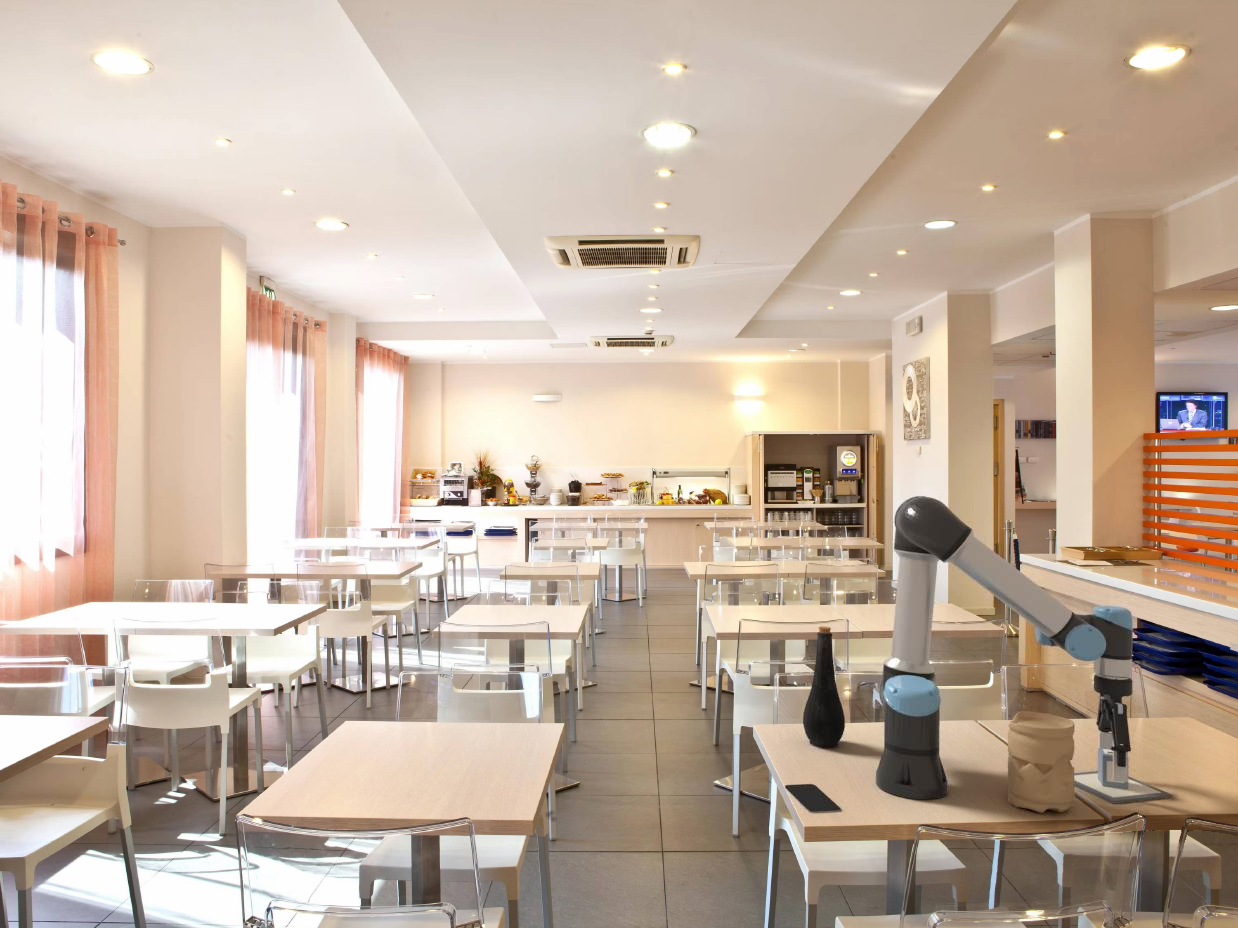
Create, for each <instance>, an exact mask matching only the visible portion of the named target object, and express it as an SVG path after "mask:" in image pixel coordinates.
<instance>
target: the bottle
mask: <svg viewBox="0 0 1238 928" xmlns="http://www.w3.org/2000/svg"><path fill="white" fill-rule="evenodd" d="M831 629H832V628H831V627H830V626H819V627H818V632H817V633H816V635H817V641H816V642H817V644H816V656H815V663H814V670H813V677H812V682H811V687H810V691H809V694H808V698H807V700H806V703H805V707H804V709H803V710H804V711H803V716H802V725H803V729H804V732H805V735H806V738H807V739H808V741H809V744H810V745H811V746H813V747H816V748H817V747H818V748H820V749H821V748H822V749H833V748H837V747H838V745H839V742H840V740H842V737H843V735H844V732H845V728H846V720H845V712H844V708H843V705H842V702H841V699H840V696H839V692H838V687H837V681H836V675H835V673H836V672H835V665H834V656H833V633H832V632H831Z"/></svg>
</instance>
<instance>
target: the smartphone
mask: <svg viewBox="0 0 1238 928" xmlns="http://www.w3.org/2000/svg"><path fill="white" fill-rule="evenodd" d="M784 789H785V790H786V791H787V792H788V793H789V794H790V795H791V796H792V797H793V798H794V799H795V800H796V801H797V802H798V803H799V804H800V805H801V806H802V807H803V809H805V810H806V811H807V812H808V813H810V814H818V813H819V814H822V813H823V814H824V813H839V812H841V811H842V808H841V807H840V806H839V805H838V804H837V803H836V802H835V801H833V800H832V799H831V798H830V797H829V796H828V795H827V794H826V793H825V792H823V790H821V789H820V788H819V787H818V786H817V785H816V784H812V783H805V784H804V783H803V784H801V783H800V784H799V783H798V784H786V785H784Z"/></svg>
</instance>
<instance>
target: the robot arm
mask: <svg viewBox="0 0 1238 928" xmlns="http://www.w3.org/2000/svg"><path fill="white" fill-rule="evenodd" d="M893 520H894V526H895V531H894V532H895V533H894V543H893V544H894V546H893V551H894V552H895V553H896V555H898V557H899V562H898V563H899V564H898V574H897V584H896V597H895V607H894V618H893V619H894V620H893V629H892V641H891V642H892V643H891V652H890V653H891V654H890V656H889V657H888V658H887V659H885V660H884V661H883V668H882V669H883V670H882V677H881V678H882V679H881V680H880V684H879V687H878V688H879V689H878V691H879V693H878V694H879V696H878V697H879V700H880V703H881V705H882V709H883V716H884V717H883V719H884V724H883V726H884V727H883V729H884V731H883V734H884V735H883V736H884V738H883V740H884V742H883V743H884V744H883V746H884V747H883V751H882V754H881V757H880V759H879V763H878V766H877V768H876V771H875V784H876V786H877V787H878V788H879V789H881V790H882V791H884V792H886V793H889V794H891V795H894V796H898V797H902V798H908V799H916V800H935V799H936V800H937V799H940V798H944V797H945V796H946V795H947V794H948V791H949V790H948V788H949V787H948V786H949V785H948V783H949V782H948V778H947V775H946V772H945V769H944V766H943V763H942V760H941V755H940V718H941V717H940V712H941V711H940V708H941V707H940V706H941V700H942V699H941V696H940V695H941V694H940V689H939V687H938V685H937V684H936V683H935V674H936V673H935V672H936V669H935V668H934V667H933V666H932V665H931V664H930V661H929V660H930V650H931V639H932V628H933V617H934V616H933V615H934V608H935V607H934V606H935V605H934V604H935V594H936V582H937V575H938V573H937V572H938V564H939V563H938V562H939V561H941V562H942V563H945V564H946V563H950V564H953V565H954V567H957V569H958V570H961V572H963V573H964V574H966V576H968V577H969V578H970V579H972V580H973V581H975V582H976V583H977V584H979V586H981V587H982V588H983V589H985V590H986V591H987V592H989V593H990V594H991V595H993V596H994V597H996V598H997V599H998V600H999V601H1001V602H1002V603H1003V604H1005V605H1006V606H1007V607H1008V608H1010V609H1011V610H1012V611H1014V612H1015V613H1016V614H1017V615H1019V616H1020V617H1021V618H1023V619H1024V620H1025V621H1026V622H1028V623H1029V624H1030V625H1031V626H1033V627H1034V632H1035V638H1036V641H1037V643H1039V645H1042V646H1045V647H1046V646H1048V647H1052V648H1053V647H1059V648H1061V650H1063V651H1064V652H1066V653H1068V655H1069V656H1071V657H1072V658H1074V659H1076V660H1079V661H1082V662H1093V673H1095V674H1094V675H1093V690H1094V691H1095V692H1096V693H1098V694H1099V702H1098V709H1097V718H1096V722H1095V723H1096V726H1097V729H1098V748H1102V749H1111V750H1112V751H1113V780H1115V781H1124V782H1128V776H1129V752H1132V751H1131V750H1132V747H1131V740H1130V731H1129V722H1128V710H1127V709H1128V705H1127V704H1125V703H1123V699H1122V698H1123V697H1126V698H1127V697H1131V696H1132V695H1133V679H1132V676H1133V667H1135V666H1136V663H1135V662H1133V639H1134V638H1133V635H1134V634H1133V632H1134V627H1133V625H1134V624H1133V614H1132V612H1131V611H1130V610H1129V609H1128V608H1126V607H1124V606H1123V607H1122V606H1114V605H1097V606H1095V607H1094V608H1093V612H1092V614H1089V613H1088V614H1080V613H1079V614H1077V613H1075V612H1073V611H1072V610H1071V609H1070V608H1069V607H1067V606H1066V605H1065V604H1063V602H1061V601H1059V600H1058V599H1056V597H1054V596H1053V595H1052V594H1050V593H1049V592H1047V591H1046V590H1045V589H1044V588H1042V587H1041V586H1040V585H1039V584H1037V583H1036V582H1034V581H1033V580H1032V579H1031V578H1030V577H1028V576H1027V575H1025V574H1024V573H1023V572H1022V571H1020V570H1019V569H1017V568H1016V567H1015V566H1013V564H1011V563H1009V562H1008V561H1006V560H1005V559H1004V558H1003V557H1001V556H1000V555H999V554H998V553H996V552H995V551H994V550H992V549H991V548H990V547H989V546H987V545H986V544H985V543H983V542H982V541H981V540H980V539H978V538H977V537H975V536H974V531H973V530H974V529H973V528H971V527H970V526H968V525H967V524H966V523H965V522H963V521H962V519H960V518H959V517H958V516H957V515H956V514H955V513H954V512H953V511H952V510H951V509H950V508H949V507H948V506H947V505H946V504H945V503H944V502H942V501H941V500H939V499H936V498H933V497H929V496H926V495H925V496H924V495H917V496H912V497H910V498H907V499H906V500H904V501H903V502H902V503H901V504H900V505H899V507H898V508H897V509H896V511H895V514H894V519H893Z"/></svg>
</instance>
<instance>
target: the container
mask: <svg viewBox="0 0 1238 928" xmlns="http://www.w3.org/2000/svg"><path fill="white" fill-rule="evenodd" d="M1075 725H1076V724H1075V722H1074V721H1072V720H1071V719H1069V718H1067V717H1064V716H1060V715H1056V714H1053V713H1052V714H1051V713H1047V712H1045V713H1043V712H1037V711H1026V710H1025V711H1017V713H1015V715H1014V716H1013V718H1012V720H1010V721H1009V723H1008V728H1009V730H1007V752H1008V758H1007V788H1008V790H1007V799H1008V803H1009V804H1011V806H1014V807H1015V808H1016V809H1017V808H1021V809H1028V810H1032V811H1034V812H1037V813H1041V814H1043V813H1045V811H1046V810H1051V811H1054V812H1057V813H1062V812H1066V811H1068V810H1069V809H1070V808H1071V807H1072V805H1073V804H1074V799H1075V786H1074V773H1075V767H1073V765H1072V762H1071V761H1073V759H1074V754H1075V739H1074V734H1075V727H1076V726H1075Z"/></svg>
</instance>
